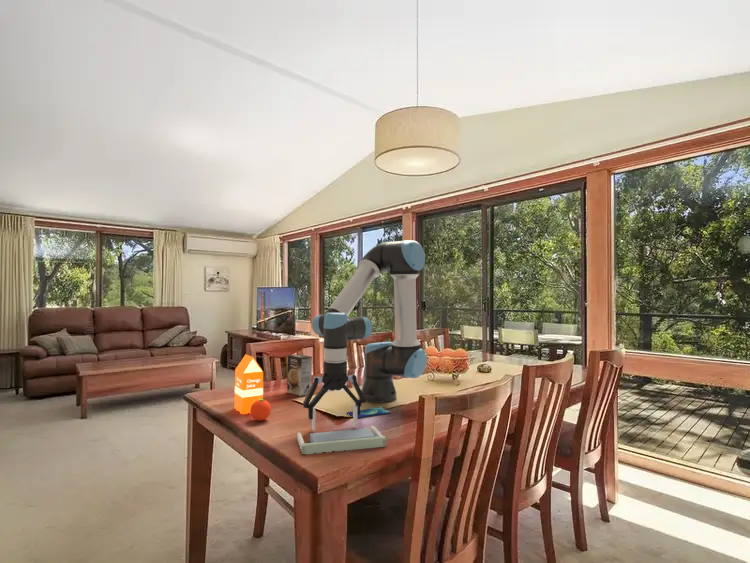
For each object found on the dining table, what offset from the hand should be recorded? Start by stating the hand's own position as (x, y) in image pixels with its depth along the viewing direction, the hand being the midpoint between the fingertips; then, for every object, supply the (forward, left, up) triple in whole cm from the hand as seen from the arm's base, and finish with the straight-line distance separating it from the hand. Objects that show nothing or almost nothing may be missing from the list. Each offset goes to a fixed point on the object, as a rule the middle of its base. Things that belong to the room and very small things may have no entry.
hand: (334, 427), depth 133 cm
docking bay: (0, +12, -1) cm, 12 cm away
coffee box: (+5, -50, -1) cm, 51 cm away
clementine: (+22, -16, -1) cm, 28 cm away
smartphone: (-16, -14, -1) cm, 21 cm away
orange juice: (+26, -29, -1) cm, 40 cm away
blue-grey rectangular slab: (0, +11, -1) cm, 11 cm away
